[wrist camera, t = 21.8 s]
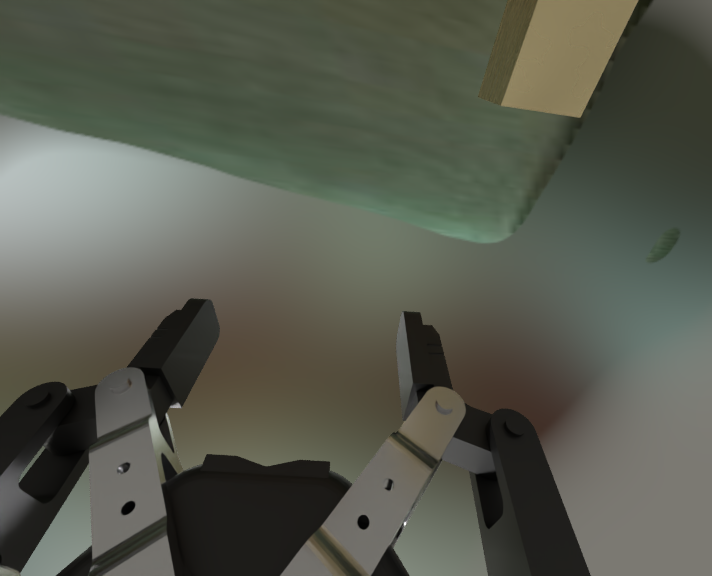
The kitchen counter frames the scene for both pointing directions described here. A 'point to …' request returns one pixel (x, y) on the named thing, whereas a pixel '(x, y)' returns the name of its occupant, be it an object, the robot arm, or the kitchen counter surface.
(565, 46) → the tan wooden bar
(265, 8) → the kitchen counter surface
